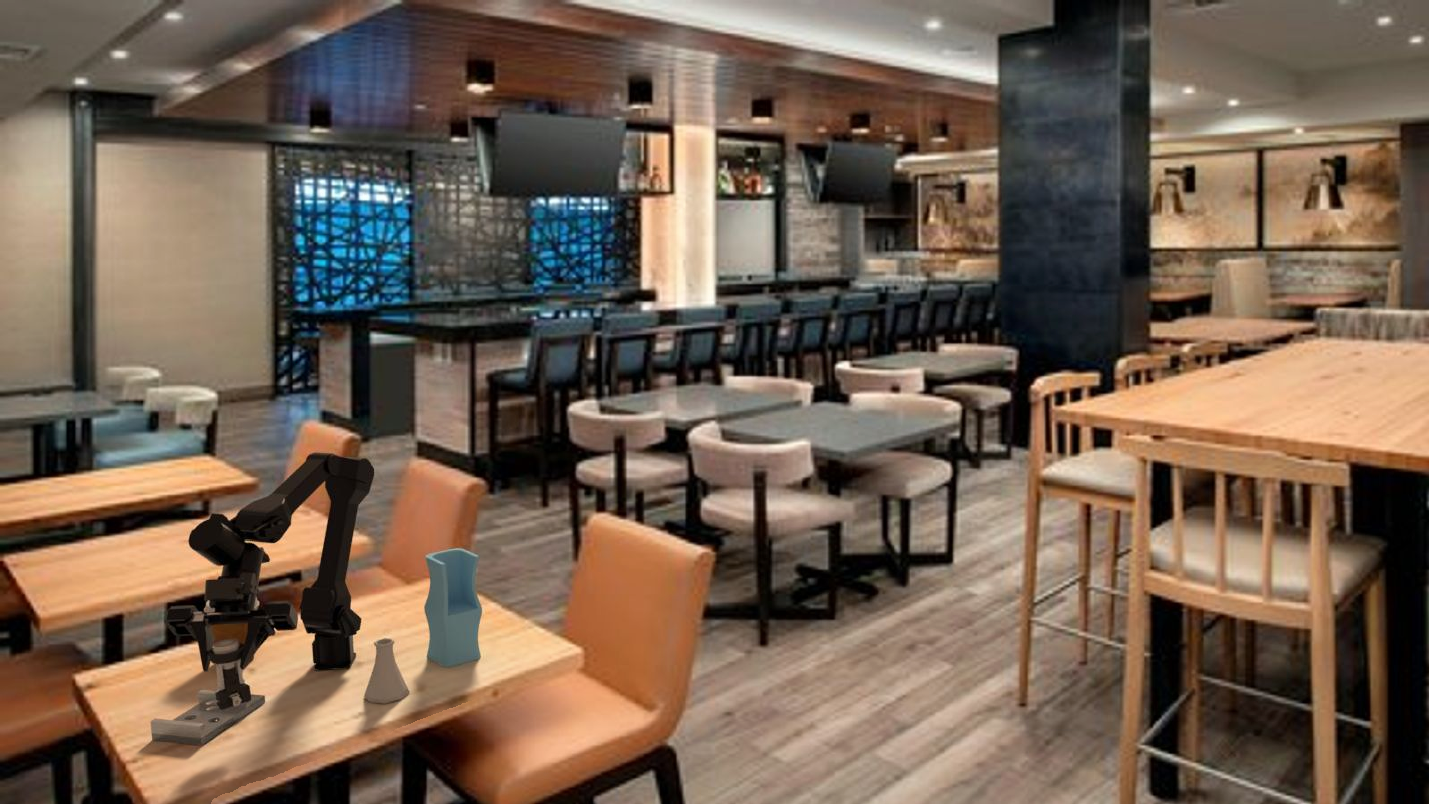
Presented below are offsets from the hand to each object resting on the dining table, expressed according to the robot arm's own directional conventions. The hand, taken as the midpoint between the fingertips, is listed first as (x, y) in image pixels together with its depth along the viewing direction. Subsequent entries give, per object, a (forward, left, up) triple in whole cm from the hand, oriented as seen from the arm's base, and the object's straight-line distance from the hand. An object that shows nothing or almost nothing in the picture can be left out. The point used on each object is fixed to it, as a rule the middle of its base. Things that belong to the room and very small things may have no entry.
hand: (223, 669), depth 160 cm
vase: (-31, -33, -13) cm, 47 cm away
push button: (0, -1, -7) cm, 7 cm away
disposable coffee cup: (+10, -37, -13) cm, 40 cm away
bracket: (+6, -11, -13) cm, 18 cm away
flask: (-21, -17, -13) cm, 30 cm away
